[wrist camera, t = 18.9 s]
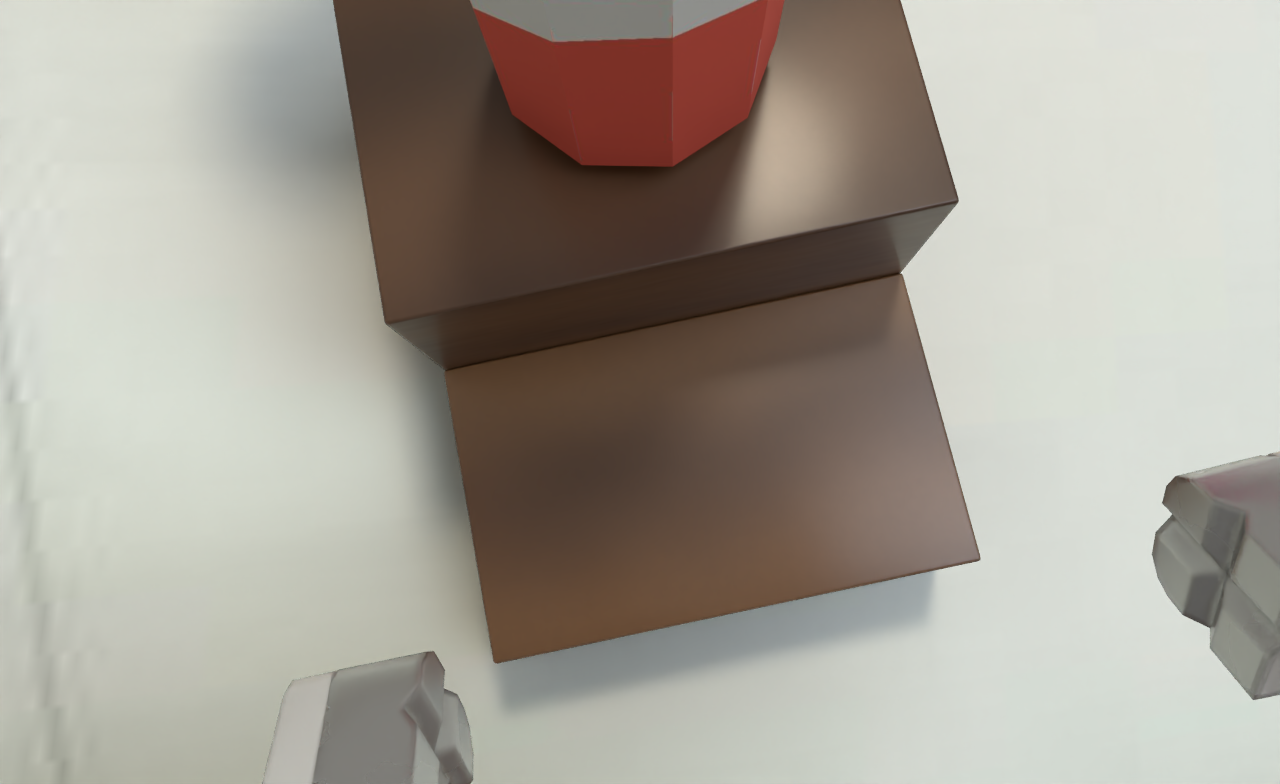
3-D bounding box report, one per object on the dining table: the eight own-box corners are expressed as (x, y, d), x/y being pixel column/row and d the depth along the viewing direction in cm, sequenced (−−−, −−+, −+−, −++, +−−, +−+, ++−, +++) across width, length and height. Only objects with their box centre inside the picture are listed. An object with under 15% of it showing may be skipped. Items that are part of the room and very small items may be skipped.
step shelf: (937, 558, 27) (1066, 563, 18) (520, 647, 27) (443, 696, 18) (796, 33, 30) (848, -182, 21) (424, 113, 30) (320, -70, 21)
